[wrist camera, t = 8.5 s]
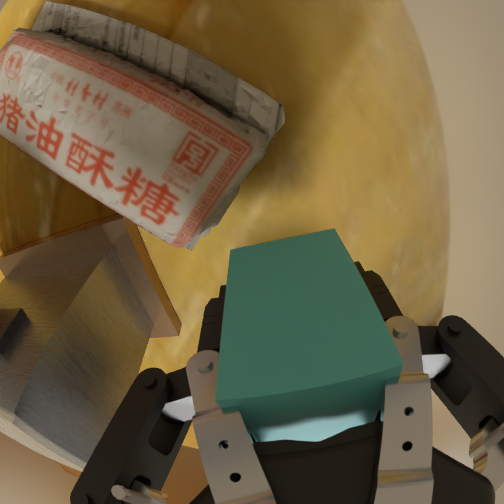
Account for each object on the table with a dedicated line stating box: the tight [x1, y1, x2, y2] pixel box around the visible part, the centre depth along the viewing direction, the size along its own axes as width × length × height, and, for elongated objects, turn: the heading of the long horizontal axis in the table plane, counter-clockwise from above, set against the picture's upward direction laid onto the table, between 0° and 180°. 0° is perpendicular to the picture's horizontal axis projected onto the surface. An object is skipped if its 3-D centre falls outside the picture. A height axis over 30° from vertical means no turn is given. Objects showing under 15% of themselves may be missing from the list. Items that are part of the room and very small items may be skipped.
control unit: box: [0, 214, 182, 471], centre depth 13 cm, size 10×16×14 cm, turn 101°
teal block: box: [215, 229, 404, 442], centre depth 10 cm, size 4×4×7 cm
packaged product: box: [0, 1, 285, 250], centre depth 11 cm, size 18×5×10 cm
